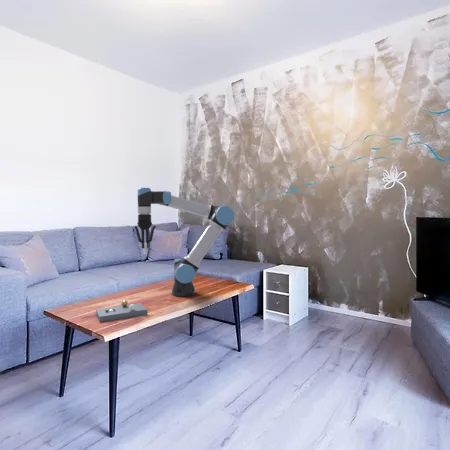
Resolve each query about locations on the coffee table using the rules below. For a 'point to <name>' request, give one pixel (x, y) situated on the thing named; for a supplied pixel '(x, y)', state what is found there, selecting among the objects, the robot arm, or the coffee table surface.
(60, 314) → the coffee table surface
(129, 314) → the board
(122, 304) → the brass ball
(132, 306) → the white ball
